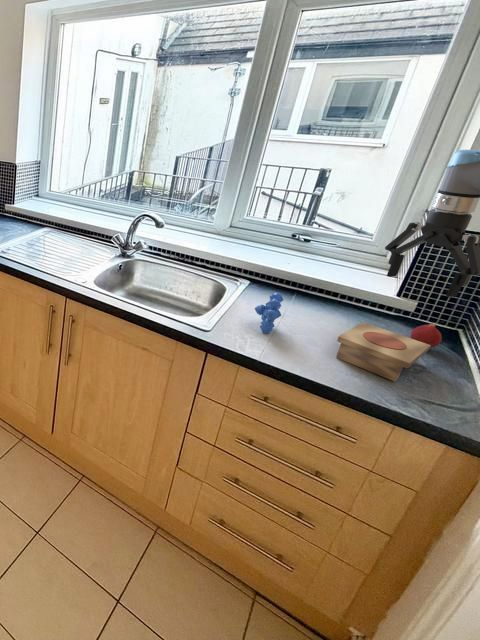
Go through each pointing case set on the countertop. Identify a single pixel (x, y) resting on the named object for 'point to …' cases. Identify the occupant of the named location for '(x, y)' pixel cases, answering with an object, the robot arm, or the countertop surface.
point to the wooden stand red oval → (379, 350)
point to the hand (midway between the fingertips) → (419, 285)
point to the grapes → (269, 312)
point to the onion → (427, 335)
